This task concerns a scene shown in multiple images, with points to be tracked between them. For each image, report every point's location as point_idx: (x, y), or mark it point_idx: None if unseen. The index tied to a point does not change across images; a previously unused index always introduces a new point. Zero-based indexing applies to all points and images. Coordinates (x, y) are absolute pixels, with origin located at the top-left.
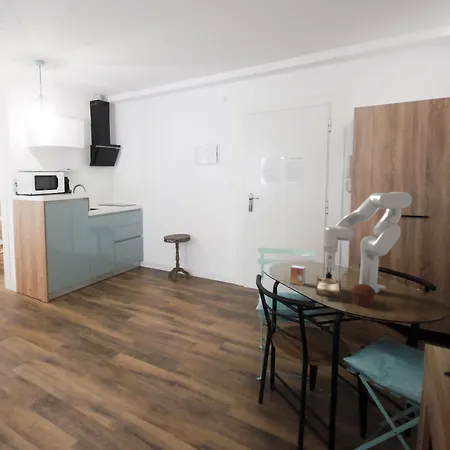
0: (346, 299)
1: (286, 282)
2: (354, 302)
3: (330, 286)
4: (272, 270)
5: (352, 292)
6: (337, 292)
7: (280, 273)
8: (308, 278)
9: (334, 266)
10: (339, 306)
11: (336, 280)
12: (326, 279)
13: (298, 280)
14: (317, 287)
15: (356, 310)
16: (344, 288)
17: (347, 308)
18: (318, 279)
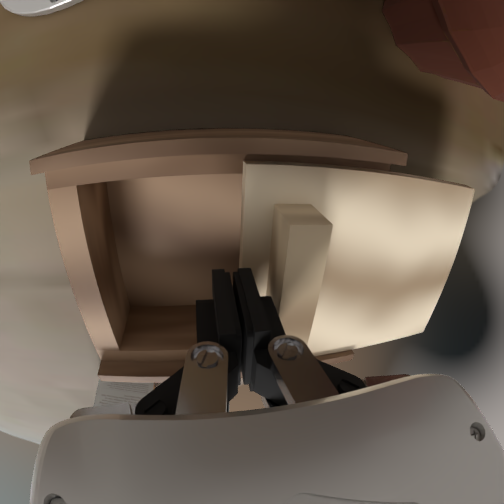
0: (385, 101)
1: None
2: (452, 79)
3: (401, 258)
4: (34, 439)
5: (471, 82)
6: None
7: (42, 429)
8: (6, 352)
9: (487, 423)
10: (476, 175)
11: (72, 196)
12: (309, 330)
13: None
14: (415, 333)
15: (499, 107)
16: (65, 99)
17: (489, 142)
18: (141, 359)
